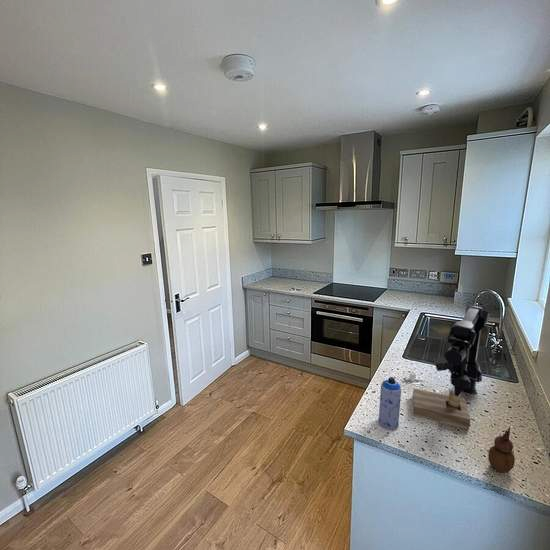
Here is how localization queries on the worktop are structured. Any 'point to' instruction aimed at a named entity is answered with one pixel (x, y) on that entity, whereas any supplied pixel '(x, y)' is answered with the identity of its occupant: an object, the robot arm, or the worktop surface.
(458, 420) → the walnut socket block
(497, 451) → the brown bottle gourd
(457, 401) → the oak peg
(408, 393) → the worktop surface
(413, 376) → the teacup and saucer
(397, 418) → the aerosol can
